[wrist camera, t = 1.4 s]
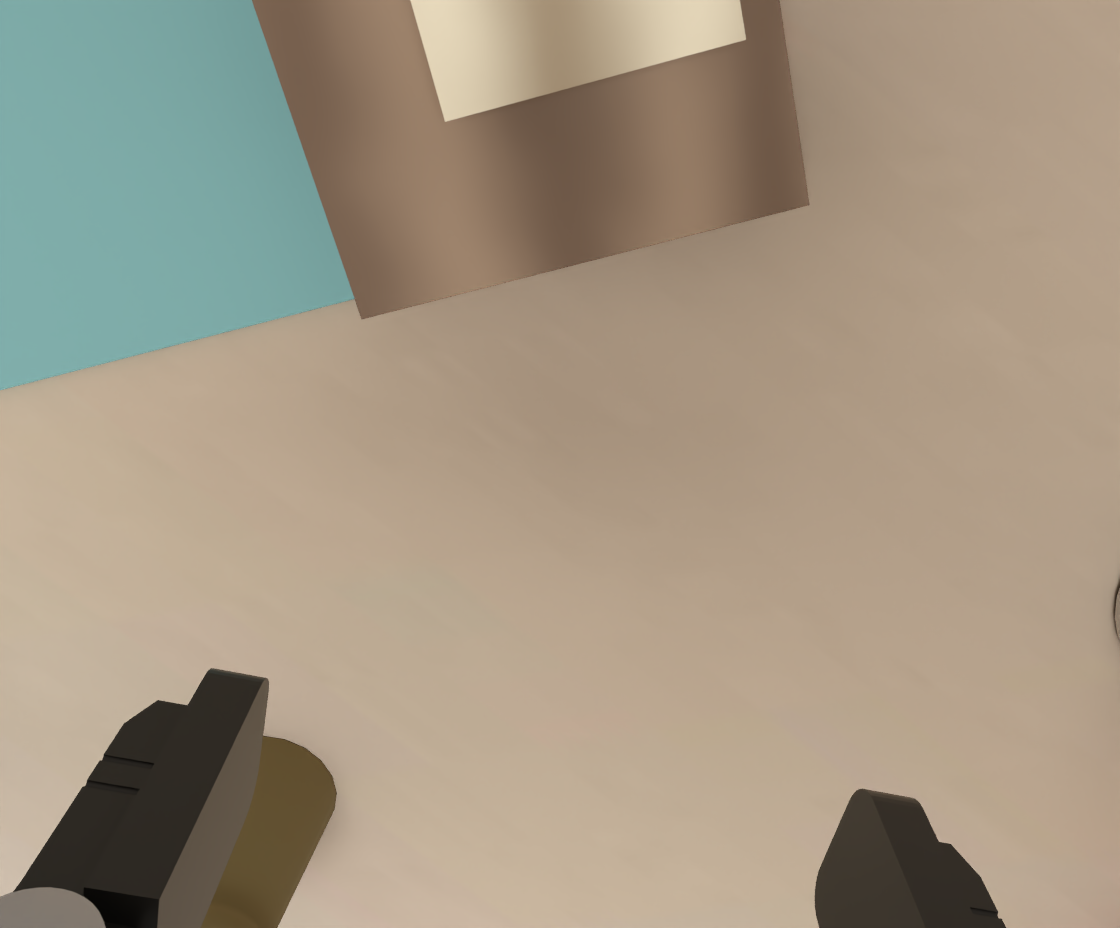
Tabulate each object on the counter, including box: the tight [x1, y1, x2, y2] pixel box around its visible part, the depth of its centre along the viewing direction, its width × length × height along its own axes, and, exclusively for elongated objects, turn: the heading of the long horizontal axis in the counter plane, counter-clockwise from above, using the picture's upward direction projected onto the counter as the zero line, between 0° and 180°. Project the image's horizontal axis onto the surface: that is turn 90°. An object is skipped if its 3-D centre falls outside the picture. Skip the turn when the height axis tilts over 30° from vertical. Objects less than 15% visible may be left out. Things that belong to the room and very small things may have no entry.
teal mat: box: [0, 0, 355, 390], centre depth 31 cm, size 15×16×1 cm
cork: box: [201, 736, 337, 928], centre depth 37 cm, size 6×6×11 cm
